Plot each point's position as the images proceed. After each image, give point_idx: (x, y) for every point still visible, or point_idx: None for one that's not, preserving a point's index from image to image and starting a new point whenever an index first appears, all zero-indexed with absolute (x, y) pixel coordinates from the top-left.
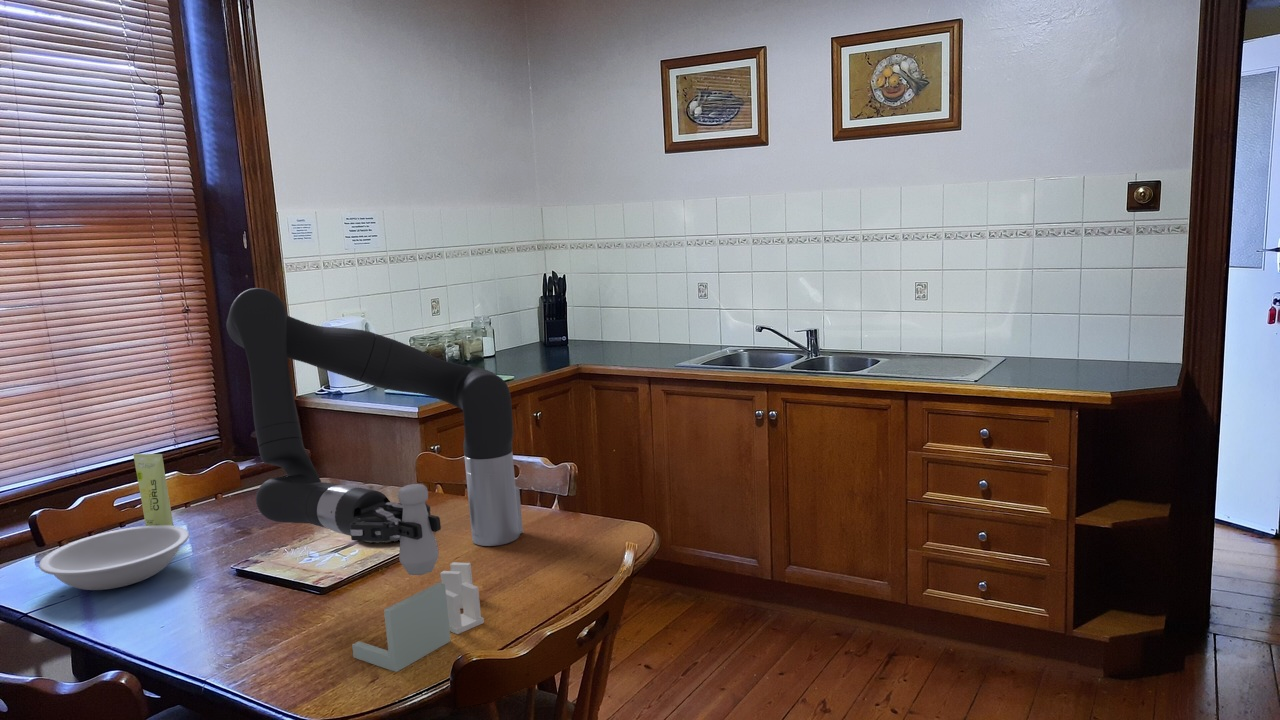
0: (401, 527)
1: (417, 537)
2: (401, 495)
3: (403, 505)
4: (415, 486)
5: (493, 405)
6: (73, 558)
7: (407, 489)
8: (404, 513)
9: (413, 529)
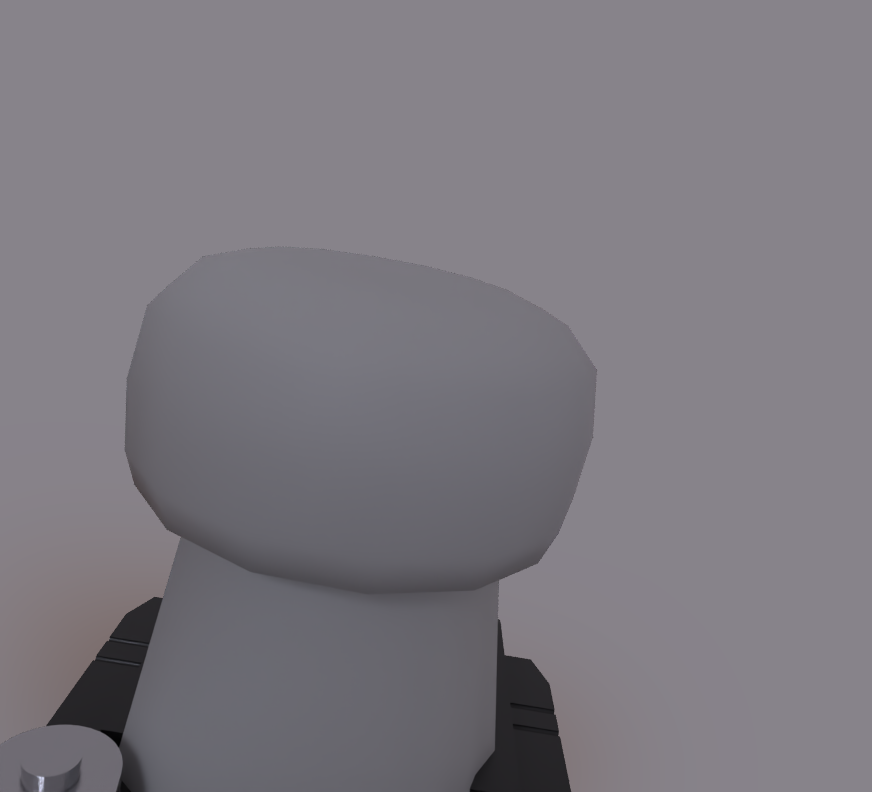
0: (565, 779)
1: None
2: (595, 389)
3: (439, 622)
4: (377, 260)
5: None
6: None
7: (514, 295)
8: (484, 668)
9: (516, 668)
